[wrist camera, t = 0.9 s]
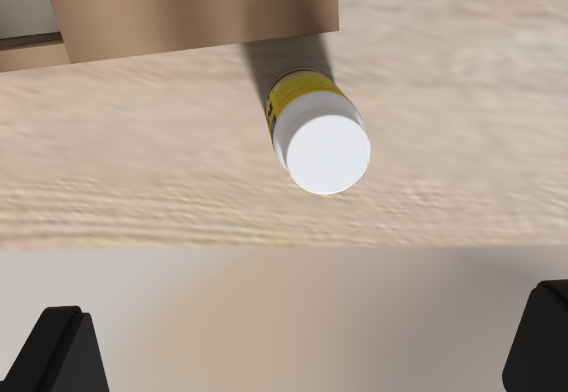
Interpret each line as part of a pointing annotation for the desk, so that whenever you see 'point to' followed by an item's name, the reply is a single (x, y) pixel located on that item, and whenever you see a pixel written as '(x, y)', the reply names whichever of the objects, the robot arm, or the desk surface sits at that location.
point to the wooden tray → (149, 26)
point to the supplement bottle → (316, 131)
